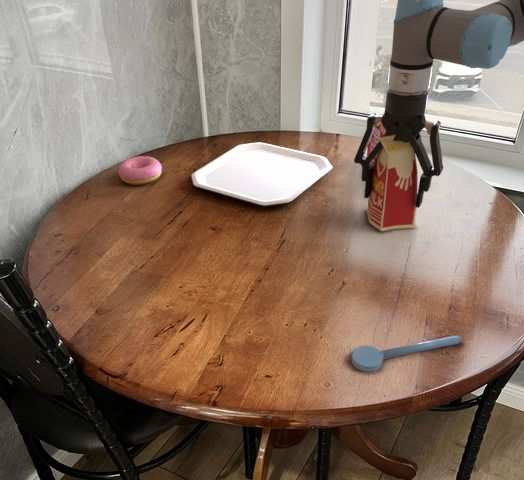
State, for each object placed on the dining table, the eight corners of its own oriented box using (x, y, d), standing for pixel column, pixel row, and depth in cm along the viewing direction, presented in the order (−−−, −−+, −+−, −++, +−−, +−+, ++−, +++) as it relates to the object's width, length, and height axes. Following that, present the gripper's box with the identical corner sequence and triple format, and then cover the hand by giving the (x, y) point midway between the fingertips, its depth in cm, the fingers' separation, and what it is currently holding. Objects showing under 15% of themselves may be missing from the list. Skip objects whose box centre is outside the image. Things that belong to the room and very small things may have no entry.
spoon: (452, 332, 90) (454, 326, 89) (467, 351, 87) (469, 345, 86) (347, 354, 88) (347, 347, 87) (358, 374, 84) (358, 368, 83)
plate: (180, 188, 133) (179, 180, 131) (247, 146, 150) (247, 138, 148) (280, 218, 120) (280, 209, 119) (340, 168, 137) (341, 159, 136)
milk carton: (400, 207, 122) (414, 116, 108) (416, 227, 115) (432, 133, 102) (361, 211, 121) (370, 120, 107) (374, 232, 114) (386, 138, 101)
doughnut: (171, 172, 140) (168, 156, 137) (146, 190, 133) (143, 174, 130) (136, 165, 144) (133, 150, 141) (111, 183, 136) (107, 167, 134)
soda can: (359, 167, 138) (364, 119, 129) (377, 158, 141) (382, 111, 133) (382, 175, 134) (387, 126, 125) (399, 166, 137) (406, 118, 129)
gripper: (342, 89, 101) (335, 198, 116) (467, 103, 93) (443, 218, 108) (355, 77, 106) (347, 183, 121) (475, 89, 98) (451, 201, 113)
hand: (392, 199), depth 115 cm, fingers closed on milk carton, 10 cm apart
